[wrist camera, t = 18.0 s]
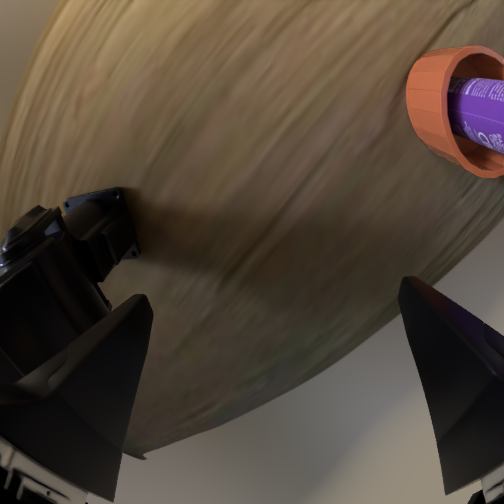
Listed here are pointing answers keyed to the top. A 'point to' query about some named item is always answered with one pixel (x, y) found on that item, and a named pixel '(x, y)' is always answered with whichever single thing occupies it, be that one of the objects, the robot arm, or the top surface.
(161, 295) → the top surface
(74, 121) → the top surface
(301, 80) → the top surface
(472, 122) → the container
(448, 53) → the orange-brown bowl
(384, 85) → the top surface
